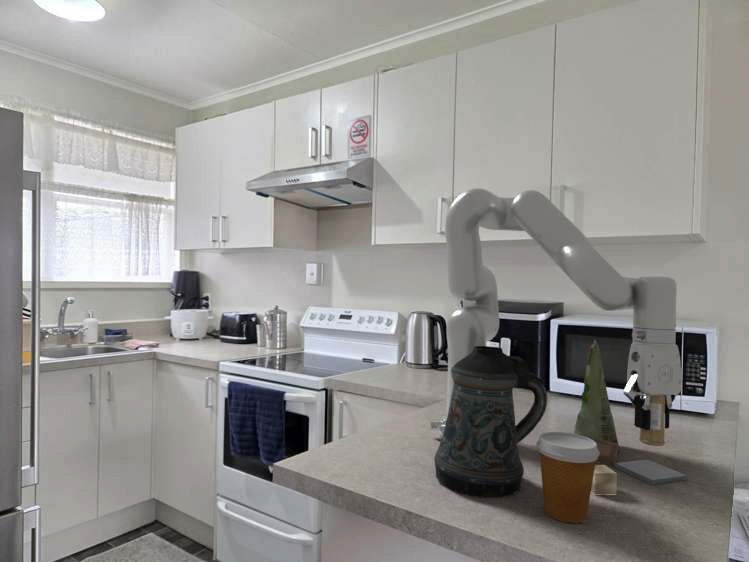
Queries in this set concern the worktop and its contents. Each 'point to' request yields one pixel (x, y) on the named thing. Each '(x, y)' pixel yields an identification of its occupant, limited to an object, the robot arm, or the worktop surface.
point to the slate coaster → (650, 471)
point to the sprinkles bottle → (655, 422)
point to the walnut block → (606, 452)
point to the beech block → (604, 480)
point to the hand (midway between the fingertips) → (651, 426)
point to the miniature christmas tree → (595, 403)
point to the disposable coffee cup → (567, 474)
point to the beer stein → (487, 424)
